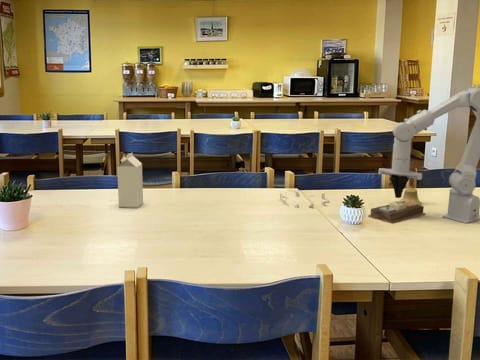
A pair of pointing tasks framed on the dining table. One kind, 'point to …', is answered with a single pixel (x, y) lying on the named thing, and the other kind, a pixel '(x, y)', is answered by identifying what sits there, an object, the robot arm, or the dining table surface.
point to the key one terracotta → (409, 205)
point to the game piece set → (309, 196)
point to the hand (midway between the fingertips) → (398, 197)
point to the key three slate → (387, 209)
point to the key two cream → (397, 205)
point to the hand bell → (411, 189)
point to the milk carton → (130, 182)
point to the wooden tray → (397, 214)
